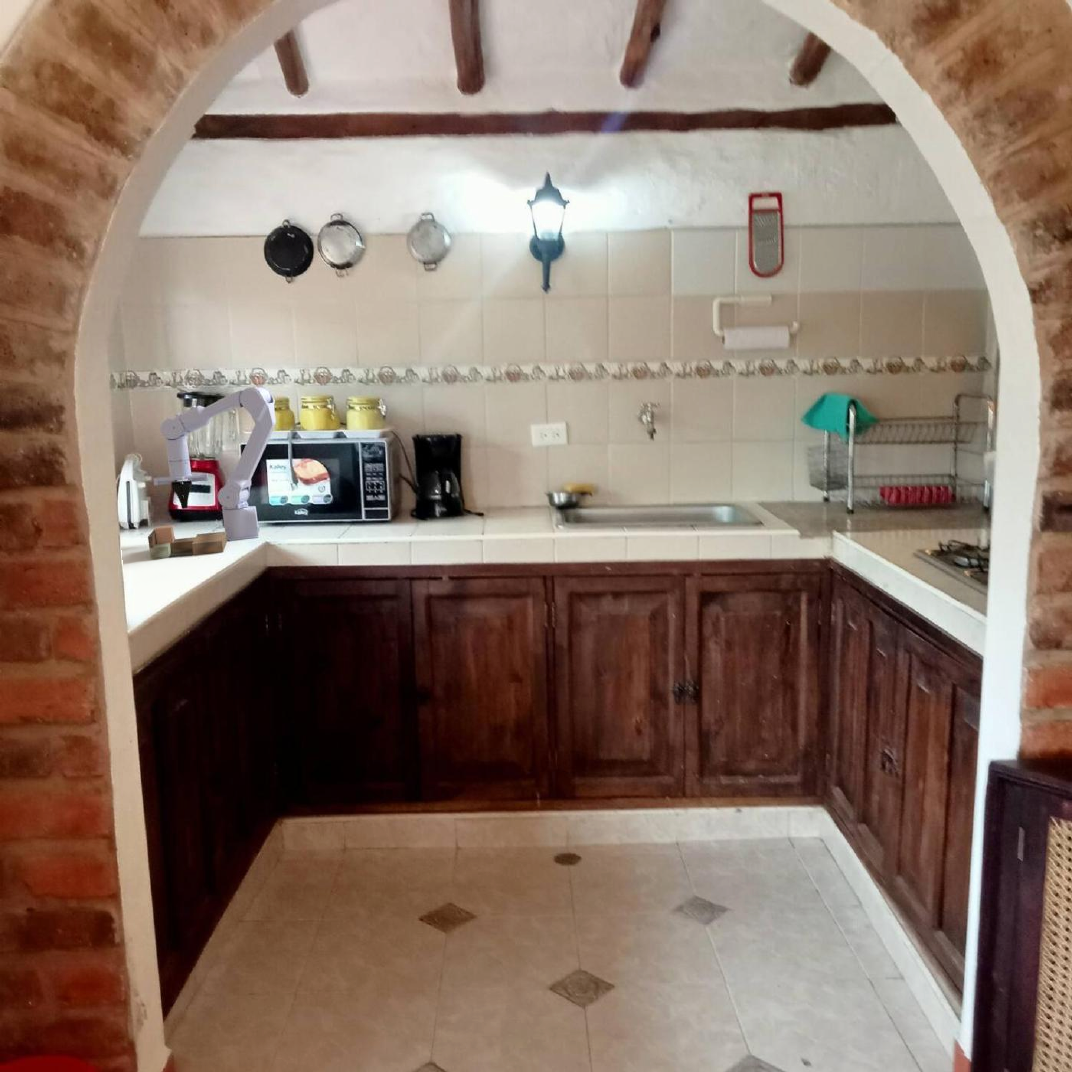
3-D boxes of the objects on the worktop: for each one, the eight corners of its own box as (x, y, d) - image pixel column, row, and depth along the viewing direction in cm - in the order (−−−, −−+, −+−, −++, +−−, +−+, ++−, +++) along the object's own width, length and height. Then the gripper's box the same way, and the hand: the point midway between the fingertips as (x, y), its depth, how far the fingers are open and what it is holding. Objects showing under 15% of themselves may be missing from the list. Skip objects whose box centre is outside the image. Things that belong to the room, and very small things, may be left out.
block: (174, 539, 255) (172, 525, 254) (172, 542, 251) (170, 527, 251) (158, 541, 254) (156, 526, 253) (156, 543, 250) (154, 529, 250)
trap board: (226, 541, 264) (224, 520, 263) (223, 552, 249) (220, 529, 248) (158, 548, 260) (155, 527, 259) (150, 559, 245) (147, 536, 244)
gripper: (149, 464, 262) (156, 512, 264) (204, 459, 265) (210, 507, 268) (153, 461, 268) (159, 508, 271) (206, 457, 272) (212, 504, 274)
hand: (184, 508), depth 270 cm, fingers closed
